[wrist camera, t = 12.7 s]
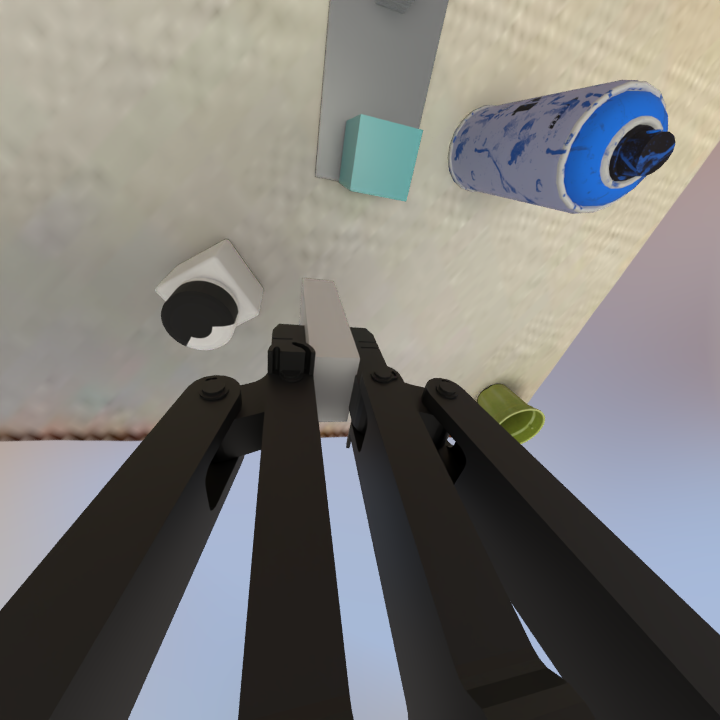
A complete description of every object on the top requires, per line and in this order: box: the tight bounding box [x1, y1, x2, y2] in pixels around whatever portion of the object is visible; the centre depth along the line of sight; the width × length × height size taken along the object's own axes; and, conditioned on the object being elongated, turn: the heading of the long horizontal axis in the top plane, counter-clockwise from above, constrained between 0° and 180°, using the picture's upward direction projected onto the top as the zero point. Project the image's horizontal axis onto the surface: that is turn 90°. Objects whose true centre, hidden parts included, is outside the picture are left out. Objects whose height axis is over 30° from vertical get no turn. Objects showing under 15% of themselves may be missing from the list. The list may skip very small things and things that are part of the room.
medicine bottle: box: [155, 239, 264, 350], centre depth 31 cm, size 7×7×12 cm
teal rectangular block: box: [339, 114, 423, 201], centre depth 28 cm, size 5×5×8 cm
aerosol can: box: [448, 80, 675, 213], centre depth 25 cm, size 8×8×20 cm
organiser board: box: [315, 0, 448, 181], centre depth 28 cm, size 10×17×1 cm, turn 170°
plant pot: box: [478, 384, 545, 444], centre depth 54 cm, size 9×9×9 cm
